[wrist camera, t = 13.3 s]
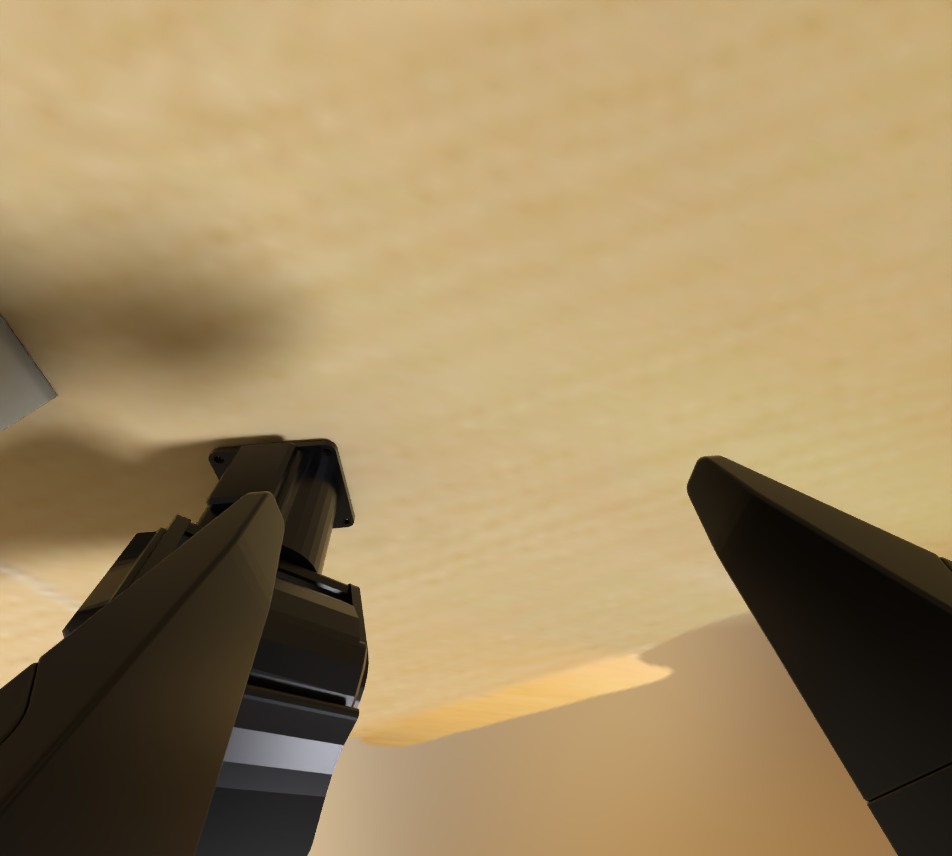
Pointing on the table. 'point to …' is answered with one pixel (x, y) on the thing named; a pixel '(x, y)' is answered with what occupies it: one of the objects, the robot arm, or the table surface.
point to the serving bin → (19, 380)
